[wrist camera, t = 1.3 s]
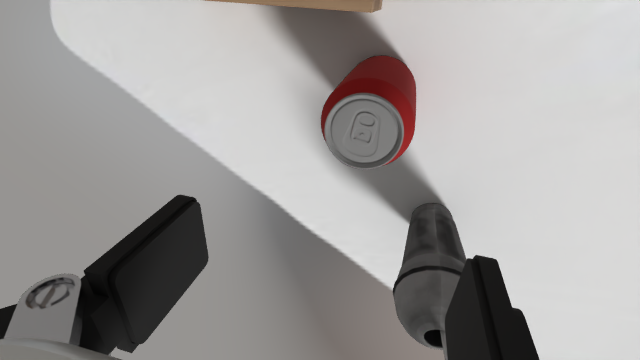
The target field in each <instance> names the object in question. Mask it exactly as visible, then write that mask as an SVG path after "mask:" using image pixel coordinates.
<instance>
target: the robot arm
mask: <svg viewBox="0 0 640 360" xmlns="http://www.w3.org/2000/svg"><path fill="white" fill-rule="evenodd" d="M207 262H208V250H207V245H206V238H205V232H204V226H203V220H202V214H201V207H200V204H199V203H198V202H197V200H196V199H195V198H194V197H189V196H184V195H177V196H176V197H174V198H173V199H172V200H171V201H169V202H168V203H167V204H166V205H164V206H163V207H162V208H161V209H159V210H158V211H157V212H156V213H155V214H153V215H152V216H151V217H150V218H148V219H147V220H146V221H145V222H143V223H142V224H141V225H140V226H138V227H137V228H136V229H135V230H134V231H132V232H131V233H130V234H128V235H127V236H126V237H125V238H124V239H122V240H121V241H120V242H119V243H117V244H116V245H115V246H114V247H112V248H111V249H110V250H109V251H107V252H106V253H105V254H104V255H103V256H101V257H100V258H99V259H98V260H96V261H95V262H94V263H93V264H91V265H90V266H89V267H88V268H86V269H85V270H84V273H85V276H84V277H83V278H81V279H80V278H79V277H78V276H76V275H73V274H59V275H54V276H51V277H48V278H45V279H43V280H41V281H39V282H37V283H36V284H34V285H33V286H31V287H30V288H29V289H28V290H27V291H25V293H23V295H22V296H21V298H20V299H19V301H18V304H16V305H12V306H8V307H5V308H2V309H0V360H121V359H118V358H115V357H112V356H111V352H112V351H113V349H114V348H115V347H116V346H117V348H118V349H120V350H124V351H127V352H130V353H132V352H133V351H134V350H135V349H136V347H137V346H138V345H139V344H142V343H144V342H145V341H146V340H147V339H148V337H149V336H150V335H151V334H152V333H153V331H154V330H155V329H156V328H157V326H158V325H159V324H160V322H161V321H162V320H163V319H164V318H165V316H166V315H167V314H168V313H169V311H170V310H171V308H172V307H173V306H174V305H175V304H176V302H177V301H178V300H179V299H180V297H181V296H182V295H183V294H184V292H185V291H186V290H187V289H188V287H189V286H190V285H191V284H192V282H193V281H194V280H195V279H196V277H197V276H198V275H199V274H200V272H201V271H202V270H203V269H204V267H205V266H206V264H207ZM445 335H446V346H447V357H448V360H539V357H538V354H537V351H536V348H535V345H534V343H533V340H532V337H531V334H530V331H529V328H528V325H527V322H526V319H525V317H524V315H523V313H522V311H521V310H520V309H516V308H512V306H511V303H510V300H509V296H508V293H507V290H506V287H505V284H504V281H503V277H502V274H501V271H500V268H499V265H498V262H497V260H496V259H493V258H488V257H483V256H478V255H475V256H474V258H473V259H470V258H468V259H467V260H466V263H465V265H464V268H463V271H462V273H461V276H460V279H459V281H458V284H457V286H456V289H455V292H454V294H453V297H452V300H451V302H450V305H449V308H448V310H447V313H446V316H445Z"/></svg>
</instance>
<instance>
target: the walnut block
mask: <svg viewBox="0 0 640 360" xmlns="http://www.w3.org/2000/svg"><path fill="white" fill-rule="evenodd" d="M207 1H220V2H234V3H247V4H261V5H275V6H288V7H302V8H316V9H329V10H343V11H356V12H370V13H371V12H374V11H377V10H380V9H381V7H382V0H207Z"/></svg>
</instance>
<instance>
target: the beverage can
mask: <svg viewBox="0 0 640 360" xmlns="http://www.w3.org/2000/svg"><path fill="white" fill-rule="evenodd" d="M415 117H416V85H415V80H414V77H413V75H412V73H411V71H410V70H409V68H408V67H407V66H406V65H405V64H404V63H402V62H401V61H399V60H398V59H395V58H393V57H389V56H374V57H370V58H368V59H366V60H364V61H362V62H361V63H359V64H358V65H357V66H356V67H355V68H354V69H353V70H352V71H351V72H350V73H349V74H348V75H347V76H346V77H345V78H344V80H343V81H342V82H341V83H340V84H339V85H338V86H337V88H336V89H335V90H334V91H333V92H332V94H331V95H330V96H329V98H328V99H327V101H326V103H325V105H324V107H323V111H322V115H321V128H322V133H323V136H324V139H325V141H326V143H327V145H328V147H329V149H330V151H331V152H332V154H333V155H334V156H335V157H336V158H337V159H338V160H340V161H341V162H342V163H344V164H346V165H348V166H350V167H353V168H357V169H374V168H378V167H380V166H383V165H386V164H388V163H390V162H392V161H394V160H396V159H397V158H398V157H399V156H401V155H402V154H403V153H404V152H405V150H406V149H407V148H408V146H409V144H410V143H411V140H412V138H413V135H414V130H415Z"/></svg>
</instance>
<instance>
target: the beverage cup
mask: <svg viewBox="0 0 640 360" xmlns="http://www.w3.org/2000/svg"><path fill="white" fill-rule="evenodd" d="M465 263H466V257H465V253H464V250H463V247H462V244H461V241H460V237H459V234H458V231H457V228H456V225H455V222H454V220H453V218H452V215H451V213H450V211H449V210H448V209H447V208H446V207H444V206H442V205H440V204H435V203H427V204H424V205H421V206H419V207H418V208H416V209H415V211H414V212H413V214H412V218H411V222H410V225H409V230H408V236H407V241H406V246H405V251H404V257H403V262H402V267H401V269H400V272H399V275H398V278H397V280H396V282H395V284H394V288H393V295H394V301H395V306H396V312H397V316H398V318H399V320H400V322H401V324H402V325H403V327H404V328H405V330H406V331H407V333H408V334H409V335H410V336H411V337H413V338H414V339H415V340H416V341H418V342H419V343H421V344H423V345H424V346H426V347H430V348H433V349H438V350H439V349H440V350H443V351H444V357H445V360H448V357H447V346H446V335H445V316H446V313H447V310H448V308H449V305H450V302H451V300H452V297H453V294H454V292H455V289H456V286H457V284H458V281H459V279H460V276H461V273H462V271H463V268H464V265H465Z"/></svg>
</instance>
